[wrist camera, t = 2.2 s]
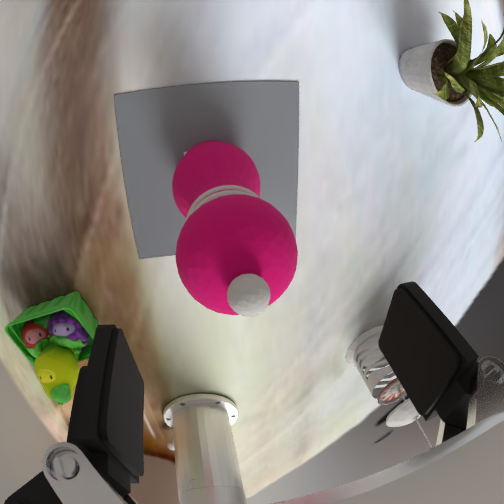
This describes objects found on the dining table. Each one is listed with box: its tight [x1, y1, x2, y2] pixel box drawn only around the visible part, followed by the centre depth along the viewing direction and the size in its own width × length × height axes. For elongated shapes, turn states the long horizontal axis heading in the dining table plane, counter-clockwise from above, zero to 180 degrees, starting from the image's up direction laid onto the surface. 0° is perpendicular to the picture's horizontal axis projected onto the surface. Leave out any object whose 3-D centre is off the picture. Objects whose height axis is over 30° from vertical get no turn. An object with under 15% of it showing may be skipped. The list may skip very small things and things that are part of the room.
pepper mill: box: [172, 140, 298, 317], centre depth 21 cm, size 7×7×20 cm
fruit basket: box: [5, 291, 98, 405], centre depth 29 cm, size 11×9×11 cm
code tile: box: [114, 81, 299, 259], centre depth 29 cm, size 17×17×1 cm
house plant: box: [399, 0, 504, 142], centre depth 20 cm, size 14×14×16 cm
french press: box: [346, 325, 433, 448], centre depth 37 cm, size 10×12×25 cm
